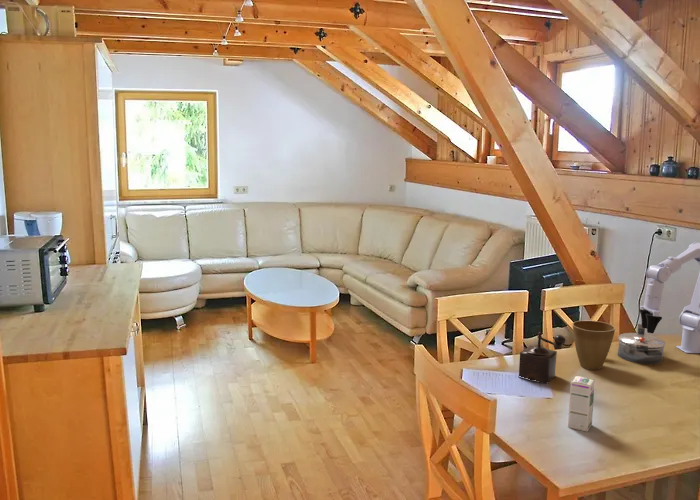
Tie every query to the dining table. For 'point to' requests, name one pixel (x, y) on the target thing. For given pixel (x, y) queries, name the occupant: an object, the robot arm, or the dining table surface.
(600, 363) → the plant pot
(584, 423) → the syrup box
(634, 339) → the lid
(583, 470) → the dining table surface
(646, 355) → the clear plastic food container
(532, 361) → the manual coffee grinder
